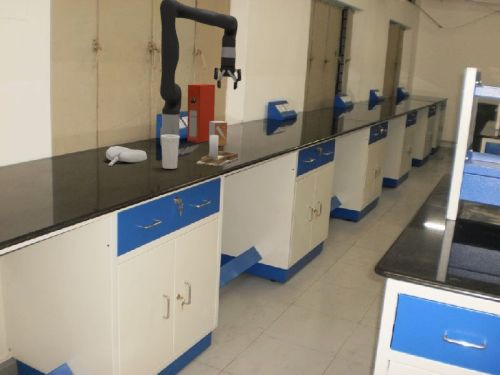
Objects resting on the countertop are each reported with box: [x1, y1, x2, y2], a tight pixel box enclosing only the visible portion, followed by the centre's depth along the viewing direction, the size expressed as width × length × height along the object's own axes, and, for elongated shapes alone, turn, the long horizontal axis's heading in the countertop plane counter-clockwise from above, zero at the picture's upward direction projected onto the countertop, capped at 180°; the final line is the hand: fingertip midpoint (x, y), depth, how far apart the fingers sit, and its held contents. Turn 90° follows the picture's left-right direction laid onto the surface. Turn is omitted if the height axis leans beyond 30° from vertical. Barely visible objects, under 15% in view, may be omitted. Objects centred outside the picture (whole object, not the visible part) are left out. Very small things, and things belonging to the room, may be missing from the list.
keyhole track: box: [196, 150, 239, 167], centre depth 260 cm, size 12×22×3 cm, turn 161°
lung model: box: [105, 145, 148, 167], centre depth 250 cm, size 7×17×25 cm
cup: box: [161, 134, 180, 170], centre depth 239 cm, size 8×8×14 cm
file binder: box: [186, 83, 216, 144], centre depth 314 cm, size 8×17×32 cm, turn 156°
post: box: [208, 135, 219, 159], centre depth 254 cm, size 4×4×12 cm
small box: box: [208, 120, 228, 147], centre depth 304 cm, size 8×6×13 cm
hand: (227, 88), depth 282 cm, fingers open, 8 cm apart
